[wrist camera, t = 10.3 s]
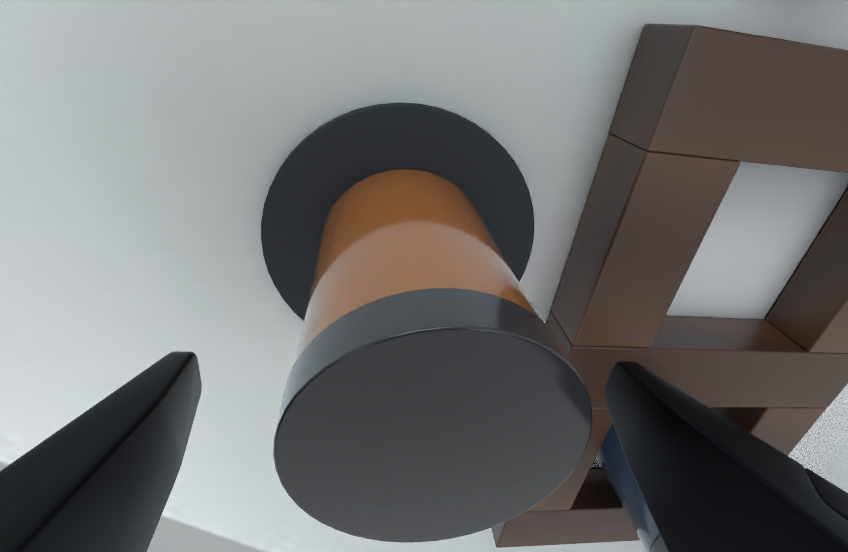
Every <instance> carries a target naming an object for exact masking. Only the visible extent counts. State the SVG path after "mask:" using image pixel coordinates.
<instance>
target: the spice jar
mask: <svg viewBox="0 0 848 552" xmlns="http://www.w3.org/2000/svg"><path fill="white" fill-rule="evenodd" d="M596 457H597V458H598V460H599V462H600V464H601V466H602V468H603V470H604V472H605V474H606V476H607V477H608V479H609V481H610V483H611V485H612V487H613V489H614V491H615V493H616V495H617V497H618V498H619V500H620V502H621V504H622V506H623V508H624V510H625V512H626V514H627V516H628V517H629V519H630V521H631V523H632V525H633V527H634V529H635V531H636V533H637V535H638V536H639V538H640V540H641V542H642V544H643V546H644V548H645V550H646V552H668V550H667V548H666V546H665V544H664V542H663V540H662V537H661V535H660V533H659V531H658V529H657V526H656V524H655V522H654V520H653V518H652V516H651V513H650V511H649V509H648V507H647V505H646V503H645V500H644V498H643V496H642V494H641V492H640V489H639V487H638V485H637V483H636V481H635V479H634V476H633V474H632V472H631V470H630V468H629V465H628V463H627V461H626V458H625V456H624V453H623V450H622V448H621V445H620V442H619V439H618V436H617V433H616V430H615V427H614V424H613V423H612V425H611V427H610V429H609V431H608V433H607V435H606V437H605V439H604V441H603V443H602V445H601V447H600V449H599V451H598V454H597V456H596Z"/></svg>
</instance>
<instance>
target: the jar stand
mask: <svg viewBox="0 0 848 552" xmlns="http://www.w3.org/2000/svg"><path fill="white" fill-rule="evenodd" d="M609 132H610V133H611V134H609V136H608V139H607V142H606V145H605V148H604V151H603V154H602V157H601V160H600V163H599V166H598V169H597V172H596V175H595V178H594V181H593V184H592V187H591V190H590V193H589V196H588V199H587V202H586V206H585V209H584V212H583V215H582V218H581V221H580V224H579V227H578V230H577V233H576V236H575V239H574V242H573V245H572V248H571V251H570V254H569V257H568V260H567V263H566V266H565V269H564V272H563V275H562V278H561V281H560V284H559V287H558V290H557V293H556V296H555V299H554V302H553V305H552V308H551V312H550V314H549V317H548V320H547V323H546V325H547V326H548V327H549V328H550V329H551V330H552V331H553V333H554V334H555V336H556V337H557V339H558V340H559V342H560V343H561V345H562V346H563V348H564V350H565V351H566V353H567V355H568V356H569V358H570V360H571V361H572V363H573V365H574V366H575V368H576V370H577V371H578V373H579V375H580V376H581V378H582V380H583V381H584V383H585V386H586V388H587V391H588V393H589V395H590V400H591V405H592V429H591V434H590V439H589V442H588V444H587V447H586V450H585V452H584V454H583V456H582V457H581V459H580V461H579V463H578V464H577V466H576V467H575V468H574V470H573V471H572V472H571V474H570V475H569V476H568V477H567V479H566V480H565V481H564V482H563V483H562V484H561V485H560V486H559V487H558V488H557V489H556V490H554V491H553V492H552V493H551V494H550V495H549V496H547V497H546V498H545V499H544V500H542V501H541V502H539V503H538V504H536V505H535V506H534V507H532V508H530V509H529V510H527V511H525V512H523V513H522V514H520V515H518V516H516V517H514V518H512V519H510V520H508V521H506V522H504V523H501V524H499V525H496V526H493V527H491V528H492V532H493V536H494V540H495V544H496V547H497V548H501V547H520V546H538V545H557V544H576V543H595V542H614V541H633V540H640V538H639V536H638V535H637V533H636V531H635V529H634V527H633V525H632V523H631V521H630V519H629V517H628V516H627V514H626V512H625V510H624V508H623V506H622V504H621V502H620V500H619V498H618V497H617V495H616V493H615V491H614V489H613V487H612V485H611V483H610V481H609V479H608V477H607V476H606V474H605V472H604V470H603V469H590V468H591V466H592V464H593V462H594V460H595V458H596V456H597V454H598V451H599V449H600V447H601V445H602V443H603V441H604V439H605V437H606V435H607V433H608V431H609V429H610V427H611V425H612V423H613V422H612V419H611V416H610V413H609V410H608V407H607V404H606V401H605V398H604V386H605V383H606V381H607V379H608V377H609V374H610V372H611V370H612V368H613V366H614V364H615V363H616V362H617V361H635V362H637V363H639V364H641V365H642V366H644V367H645V368H647V369H649V370H650V371H652V372H653V373H655V374H657V375H658V376H660V377H661V378H663V379H665V380H666V381H668V382H669V383H671V384H673V385H674V386H676V387H677V388H679V389H681V390H682V391H684V392H685V393H687V394H689V395H690V396H692V397H694V398H695V399H697V400H698V401H700V402H702V403H703V404H705V405H706V406H708V407H710V408H711V409H713V410H714V411H716V412H718V413H719V414H721V415H722V416H724V417H726V418H727V419H729V420H730V421H732V422H734V423H735V424H737V425H738V426H740V427H742V428H743V429H745V430H746V431H748V432H750V433H751V434H753V435H754V436H756V437H758V438H759V439H761V440H762V441H764V442H766V443H767V444H769V445H771V446H772V447H774V448H775V449H777V450H779V451H780V452H782V453H783V454H785V455H787V456H788V455H789V453H790V452H791V451H792V450H793V448H794V447H795V446H796V445H797V444H798V442H799V441H800V440H801V439H802V438H803V436H804V435H805V434H806V433H807V431H808V430H809V429H810V428H811V427H812V425H813V424H814V423H815V422H816V421H817V419H818V418H819V417H820V416H821V414H822V413H823V412H824V411H825V410H826V407H828V406H829V405H830V404H831V403H832V401H833V400H834V399H835V398H836V397H837V395H838V394H839V393H840V392H841V391H842V389H843V388H844V387H845V386H846V384H847V383H848V190H847V191H846V193H845V194H844V196H843V197H842V199H841V201H840V202H839V204H838V205H837V207H836V209H835V210H834V212H833V213H832V215H831V216H830V218H829V220H828V221H827V223H826V224H825V226H824V227H823V229H822V231H821V232H820V234H819V235H818V237H817V238H816V240H815V242H814V243H813V245H812V246H811V248H810V249H809V251H808V253H807V254H806V256H805V257H804V259H803V260H802V262H801V264H800V265H799V267H798V268H797V270H796V272H795V273H794V275H793V276H792V278H791V279H790V281H789V283H788V284H787V286H786V287H785V289H784V290H783V292H782V294H781V295H780V297H779V298H778V300H777V301H776V303H775V305H774V306H773V308H772V309H771V311H770V312H769V314H768V316H767V317H766V320H754V319H729V318H705V317H681V316H665V315H666V313H667V311H668V309H669V307H670V305H671V303H672V301H673V299H674V297H675V295H676V293H677V291H678V289H679V286H680V284H681V282H682V280H683V278H684V276H685V274H686V272H687V270H688V268H689V266H690V264H691V262H692V260H693V258H694V256H695V254H696V252H697V250H698V248H699V246H700V244H701V242H702V240H703V238H704V236H705V234H706V232H707V230H708V228H709V226H710V224H711V221H712V219H713V217H714V215H715V213H716V211H717V209H718V207H719V205H720V203H721V201H722V199H723V197H724V195H725V193H726V191H727V189H728V187H729V185H730V183H731V181H732V179H733V177H734V175H735V173H736V171H737V169H738V167H739V165H740V162H739V161H744V162H753V163H762V164H771V165H780V166H789V167H798V168H808V169H817V170H826V171H835V172H844V173H848V50H843V49H837V48H831V47H825V46H819V45H813V44H807V43H801V42H795V41H789V40H783V39H777V38H771V37H765V36H759V35H753V34H747V33H741V32H735V31H729V30H723V29H717V28H711V27H705V26H699V25H676V24H645V25H644V28H643V31H642V34H641V37H640V40H639V43H638V47H637V50H636V53H635V56H634V59H633V62H632V65H631V68H630V71H629V74H628V77H627V80H626V83H625V86H624V89H623V92H622V95H621V98H620V101H619V104H618V107H617V110H616V113H615V116H614V119H613V122H612V125H611V128H610V131H609Z"/></svg>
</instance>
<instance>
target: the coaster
mask: <svg viewBox="0 0 848 552" xmlns="http://www.w3.org/2000/svg"><path fill="white" fill-rule="evenodd" d="M400 169H411V170H419V171H425V172H429V173H432V174H435V175H438V176H440V177H442V178H445V179H447V180H448V181H450V182H451V183H453V184H455V185H456V186H457V187H458V188H460V189H461V190H462V191H463V192H464V193H465V194H466V195H467V196H468V197H469V199H470V200H471V201H472V203H473V204H474V206H475V207H476V209H477V211H478V212H479V214H480V216H481V218H482V219H483V221H484V223H485V225H486V226H487V228H488V230H489V231H490V233H491V235H492V237H493V238H494V240H495V242H496V244H497V245H498V247H499V249H500V250H501V252H502V254H503V256H504V257H505V259H506V261H507V262H508V264H509V266H510V268H511V269H512V271H513V273H514V275H515V276H516V278H517V280H518V281H520V279H521V277H522V275H523V273H524V271H525V269H526V266H527V263H528V260H529V257H530V253H531V248H532V244H533V235H534V215H533V206H532V202H531V197H530V193H529V190H528V188H527V185H526V182H525V180H524V177H523V175H522V174H521V172H520V170H519V168H518V167H517V165H516V163H515V162H514V160H513V159H512V158H511V156H510V155H509V154H508V153H507V151H506V150H505V149H504V148H503V147H502V146H501V145H500V144H499V143H498V142H497V141H496V140H495V139H494V138H493V137H492V136H491V135H490V134H489V133H487V132H486V131H484V130H483V129H482V128H480V127H479V126H477V125H476V124H475V123H473V122H471V121H469V120H467V119H465V118H463V117H461V116H459V115H457V114H455V113H452V112H449V111H446V110H443V109H440V108H437V107H432V106H427V105H422V104H412V103H390V104H379V105H373V106H369V107H365V108H361V109H357V110H354V111H351V112H349V113H346V114H344V115H341V116H339V117H337V118H335V119H333V120H331V121H329V122H328V123H326V124H324V125H322V126H321V127H319V128H318V129H317V130H315V131H314V132H313V133H311V134H310V135H309V136H307V137H306V138H305V139H304V140H303V141H302V142H301V143H300V144H299V145H298V146H297V147H296V148H295V149H294V150H293V151H292V152H291V153H290V155H289V156H288V158H287V159H286V160H285V162H284V163H283V165H282V166H281V167H280V169H279V171H278V173H277V175H276V177H275V179H274V181H273V183H272V185H271V186H270V189H269V192H268V195H267V198H266V201H265V204H264V210H263V216H262V222H261V241H262V248H263V255H264V259H265V262H266V265H267V269H268V272H269V274H270V276H271V278H272V280H273V283H274V285H275V287H276V288H277V290H278V291H279V293H280V295H281V296H282V298H283V299H284V300H285V302H286V303H287V304H288V305H289V306H290V308H291V309H292V310H293V311H294V312H295V313H296V314H297V315H298V316H299V317H300V318H301V319H303V320H304V319H305V314H306V309H307V304H308V299H309V294H310V289H311V284H312V279H313V274H314V269H315V264H316V259H317V254H318V250H319V245H320V240H321V235H322V230H323V226H324V223H325V221H326V218H327V216H328V214H329V212H330V210H331V209H332V207H333V205H334V204H335V203H336V202H337V200H338V199H339V198H340V197H341V196H342V195H343V194H344V193H345V192H346V191H347V190H348V189H349V188H351V187H352V186H354V185H355V184H356V183H358V182H360V181H362V180H364V179H365V178H367V177H370V176H372V175H375V174H378V173H381V172H386V171H390V170H400Z"/></svg>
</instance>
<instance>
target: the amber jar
mask: <svg viewBox="0 0 848 552" xmlns="http://www.w3.org/2000/svg"><path fill="white" fill-rule="evenodd" d="M591 429H592V405H591V400H590V395H589V393H588V391H587V388H586V386H585V383H584V381H583V380H582V378H581V376H580V375H579V373H578V371H577V370H576V368H575V366H574V365H573V363H572V361H571V360H570V358H569V356H568V355H567V353H566V351H565V350H564V348H563V346H562V345H561V343H560V342H559V340H558V339H557V337H556V336H555V334H554V333H553V331H552V330H551V329H550V328H549V327H548V326H547V325H546V324H545V323H544V322H543V321H542V320H541V319H540V318H539V316H538V314H537V313H536V311H535V309H534V307H533V306H532V304H531V302H530V300H529V299H528V297H527V295H526V294H525V292H524V290H523V288H522V287H521V285H520V283H519V281H518V280H517V278H516V276H515V275H514V273H513V271H512V269H511V268H510V266H509V264H508V262H507V261H506V259H505V257H504V256H503V254H502V252H501V250H500V249H499V247H498V245H497V244H496V242H495V240H494V238H493V237H492V235H491V233H490V231H489V230H488V228H487V226H486V225H485V223H484V221H483V219H482V218H481V216H480V214H479V212H478V211H477V209H476V207H475V206H474V204H473V203H472V201H471V200H470V199H469V197H468V196H467V195H466V194H465V193H464V192H463V191H462V190H461V189H460V188H458V187H457V186H456V185H455V184H453V183H451V182H450V181H448V180H447V179H445V178H442V177H440V176H438V175H435V174H432V173H429V172H425V171H419V170H411V169H400V170H390V171H386V172H381V173H378V174H375V175H372V176H370V177H367V178H365V179H364V180H362V181H360V182H358V183H356V184H355V185H354V186H352V187H351V188H349V189H348V190H347V191H346V192H345V193H344V194H343V195H342V196H341V197H340V198H339V199H338V200H337V202H336V203H335V204H334V205H333V207H332V209H331V210H330V212H329V214H328V216H327V218H326V221H325V223H324V226H323V230H322V235H321V240H320V245H319V250H318V254H317V259H316V264H315V269H314V274H313V279H312V284H311V289H310V294H309V299H308V304H307V309H306V314H305V319H304V324H303V329H302V334H301V339H300V344H299V349H298V354H297V359H296V362H295V364H294V366H293V368H292V370H291V372H290V375H289V377H288V379H287V383H286V387H285V391H284V395H283V400H282V405H281V409H280V414H279V419H278V423H277V428H276V433H275V437H274V451H273V455H274V461H275V467H276V471H277V474H278V476H279V479H280V481H281V484H282V485H283V487H284V489H285V490H286V492H287V493H288V495H289V496H290V497H291V498H292V500H293V501H294V502H295V503H296V504H297V505H298V506H299V507H300V508H301V509H303V510H304V511H305V512H306V513H308V514H309V515H310V516H312V517H313V518H315V519H317V520H318V521H320V522H321V523H323V524H325V525H327V526H330V527H332V528H334V529H336V530H339V531H342V532H345V533H348V534H351V535H354V536H358V537H363V538H367V539H373V540H380V541H389V542H427V541H438V540H444V539H450V538H456V537H460V536H464V535H469V534H472V533H476V532H479V531H482V530H485V529H488V528H491V527H493V526H496V525H499V524H501V523H504V522H506V521H508V520H510V519H512V518H514V517H516V516H518V515H520V514H522V513H523V512H525V511H527V510H529V509H530V508H532V507H534V506H535V505H536V504H538V503H539V502H541V501H542V500H544V499H545V498H546V497H547V496H549V495H550V494H551V493H552V492H553V491H554V490H556V489H557V488H558V487H559V486H560V485H561V484H562V483H563V482H564V481H565V480H566V479H567V477H568V476H569V475H570V474H571V472H572V471H573V470H574V468H575V467H576V466H577V464H578V463H579V461H580V459H581V457H582V456H583V454H584V452H585V450H586V447H587V444H588V442H589V439H590V434H591Z"/></svg>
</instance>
